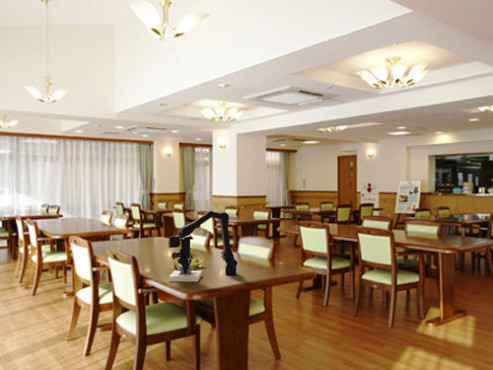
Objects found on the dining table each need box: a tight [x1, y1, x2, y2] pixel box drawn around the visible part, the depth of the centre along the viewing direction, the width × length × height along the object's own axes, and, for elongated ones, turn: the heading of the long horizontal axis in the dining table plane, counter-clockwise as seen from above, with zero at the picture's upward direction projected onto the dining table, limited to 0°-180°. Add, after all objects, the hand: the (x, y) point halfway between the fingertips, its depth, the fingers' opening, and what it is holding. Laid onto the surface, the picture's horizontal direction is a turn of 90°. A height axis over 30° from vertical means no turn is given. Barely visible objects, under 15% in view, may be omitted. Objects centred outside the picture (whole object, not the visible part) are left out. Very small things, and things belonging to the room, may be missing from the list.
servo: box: [176, 265, 196, 274], centre depth 253 cm, size 10×4×6 cm, turn 88°
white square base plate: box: [168, 270, 203, 282], centre depth 253 cm, size 17×16×3 cm
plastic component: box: [173, 255, 205, 269], centre depth 286 cm, size 20×7×10 cm
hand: (185, 272), depth 253 cm, fingers open, 4 cm apart
